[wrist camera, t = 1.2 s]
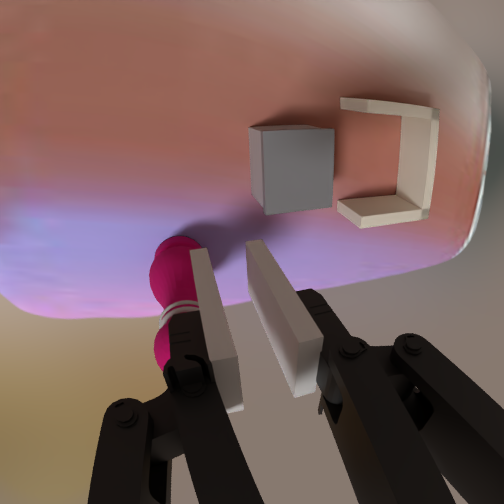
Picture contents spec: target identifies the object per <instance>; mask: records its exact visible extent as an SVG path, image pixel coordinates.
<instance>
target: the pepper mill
mask: <svg viewBox="0 0 504 504" xmlns="http://www.w3.org/2000/svg"><path fill="white" fill-rule="evenodd" d="M194 249H201V246H200V245H199V244H198V243H197V242H196V241H195V240H193V239H191V238H188V237H184V236H176V237H172V238H169V239H167V240H165V241H164V242H162V243H161V244H160V246H159V247H158V248H157V250H156V253H155V258H154V261H153V263H152V265H151V268H150V273H149V277H150V286H151V289H152V291H153V294H154V296H155V298H156V299H157V301H158V302H159V303H160V304H161V305H162V307H163V308H164V311H163V312H162V314H161V316H160V319H159V331H158V333H157V335H156V338H155V342H154V353H155V358H156V361H157V364H158V365H159V367H160V368H161V370H162V371H163V368H164V365H165V364H166V362H167V361H168V360H169V359H170V347H169V345H170V344H169V331H168V324H169V322H170V320H171V318H172V316H173V314H179V313H185V312H191V311H197V310H200V309H199V304H198V298H197V292H196V286H195V281H194V274H193V268H192V262H191V256H190V250H194Z"/></svg>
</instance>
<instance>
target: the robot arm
mask: <svg viewBox="0 0 504 504" xmlns="http://www.w3.org/2000/svg"><path fill="white" fill-rule="evenodd" d="M245 243H246V259H247V275H248V292H249V294H250V296H251V299H252V301H253V303H254V306H255V308H256V311H257V313H258V315H259V317H260V320H261V322H262V325H263V327H264V329H265V332H266V334H267V336H268V339H269V341H270V343H271V345H272V348H273V350H274V352H275V355H276V357H277V360H278V362H279V364H280V366H281V369H282V371H283V373H284V375H285V378H286V380H287V382H288V385H289V387H290V389H291V391H292V394H293V396H294V398H295V397H299V396H303V395H306V394H309V393H313V392H315V389H316V383H317V384H318V386H319V388H320V390H321V392H322V393H321V398H320V403H319V408H318V413H319V415H320V414H322V411H323V409H324V412H325V415H326V417H327V420H328V422H329V425H330V428H331V430H332V433H333V436H334V438H335V440H336V443H337V446H338V449H339V452H340V454H341V457H342V460H343V462H344V465H345V468H346V470H347V473H348V476H349V478H350V481H351V484H352V486H353V489H354V492H355V495H356V497H357V500H358V503H359V504H456V503H455V501H454V499H453V497H452V494H451V493H450V490H449V488H448V486H447V485H446V482H445V480H444V479H443V477H442V475H443V476H444V477H445V478H446V479H447V480H448V481H449V483H450V484H451V485H452V486H453V487H454V488H455V489H456V490H457V491H458V493H459V494H460V495H461V496H462V497H463V498H464V499H465V500H466V501H467V503H468V504H504V409H502V407H501V406H500V405H498V404H497V403H496V402H495V401H494V400H493V399H492V398H491V397H490V396H489V395H488V394H487V393H485V391H483V390H482V389H481V388H480V387H479V386H478V385H477V384H476V383H475V382H473V381H472V380H471V379H470V378H469V377H468V376H467V375H466V374H465V373H464V372H462V371H461V370H460V369H459V368H458V367H457V366H456V365H455V364H454V363H452V362H451V361H450V360H449V359H448V358H447V357H446V356H444V355H443V354H442V353H441V352H440V351H439V350H438V349H436V348H435V347H434V346H433V345H432V344H431V343H430V342H428V341H427V340H426V339H425V338H423V337H421V336H420V335H417V334H413V333H406V334H402V335H400V336H398V337H397V338H396V339H395V342H394V345H393V346H369V345H368V344H367V343H366V342H365V341H364V340H362V339H360V338H358V337H353V336H351V335H350V334H349V332H348V331H347V329H346V328H345V327H344V325H343V324H342V322H341V321H340V320H339V318H338V317H337V316H336V314H335V313H334V312H333V311H332V309H331V307H330V306H329V305H328V304H327V302H326V300H325V299H324V298H323V296H322V295H321V294H319V293H318V292H316V291H314V290H313V289H306V290H301V291H296V292H295V290H294V289H293V287H292V285H291V284H290V282H289V281H288V279H287V278H286V276H285V274H284V273H283V271H282V270H281V268H280V267H279V265H278V263H277V262H276V260H275V259H274V257H273V256H272V254H271V253H270V251H269V249H268V248H267V246H266V245H265V243H264V242H263V240H262V239H260V240H253V241H246V242H245ZM190 256H191V262H192V268H193V274H194V281H195V286H196V292H197V298H198V304H199V309H200V310H197V311H191V312H185V313H179V314H173V316H172V318H171V320H170V322H169V324H168V331H169V344H170V345H169V347H170V359H169V360H168V361H167V362H166V364H165V365H164V368H163V376H164V378H165V381H166V384H167V386H168V389H167V390H166V391H165V392H164V393H163V394H161V395H160V396H158V397H156V398H155V399H152V400H149V401H147V402H144V403H142V402H140V401H138V400H136V399H132V398H125V399H120V400H118V401H116V402H113V403H112V404H111V405H110V406H109V407H108V408H107V410H106V412H105V415H104V418H103V422H102V427H101V431H100V436H99V441H98V446H97V451H96V456H95V461H94V466H93V472H92V478H91V484H90V490H89V497H88V504H171V471H172V459H173V458H175V457H177V456H180V455H182V454H185V457H186V461H187V464H188V468H189V471H190V475H191V479H192V482H193V485H194V489H195V492H196V495H197V498H198V501H199V504H264V502H263V500H262V497H261V495H260V493H259V491H258V488H257V486H256V484H255V482H254V479H253V477H252V474H251V472H250V470H249V467H248V465H247V463H246V460H245V458H244V455H243V453H242V451H241V448H240V445H239V443H238V440H237V438H236V435H235V433H234V430H233V428H232V425H231V422H230V420H229V417H228V414H227V413H231V412H236V411H241V410H244V406H243V398H242V390H241V382H240V373H239V364H238V356H237V353H236V349H235V346H234V343H233V339H232V336H231V333H230V329H229V326H228V322H227V319H226V315H225V312H224V308H223V305H222V301H221V298H220V294H219V291H218V287H217V284H216V280H215V276H214V273H213V269H212V265H211V262H210V258H209V254H208V250H207V248H201V249H194V250H190ZM415 386H416V387H417V388H418V389H417V388H416V387H415Z"/></svg>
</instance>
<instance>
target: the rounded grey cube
mask: <svg viewBox="0 0 504 504" xmlns="http://www.w3.org/2000/svg"><path fill="white" fill-rule="evenodd" d="M248 129H249V149H250V170H251V191H252V195H253V196H254V198H255V199H256V200H257V201H258V202H259V204H260V205H261V206H262V207H263V213H264V214H265V215H272V214H280V213H288V212H296V211H304V210H312V209H321V208H329V207H332V197H333V174H334V129H332V128H319V127H315V126H310V125H277V126H258V127H248Z"/></svg>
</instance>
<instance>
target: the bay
mask: <svg viewBox="0 0 504 504" xmlns="http://www.w3.org/2000/svg"><path fill="white" fill-rule="evenodd" d="M340 109H344V110H351V111H358V112H365V113H376V114H388V115H399V116H402V118H401V140H400V155H399V168H398V178H397V188H396V195H388V196H376V197H365V198H355V199H345V200H338V202H337V211H338V212H339V213H341V214H342V215H343V216H344V217H346V218H347V219H348V220H350V221H351V222H352V223H354V224H355V225H356V226H358V227H359V228H360V229H361V228H368V227H375V226H382V225H388V224H395V223H402V222H409V221H416V220H423V219H428V215H429V209H430V203H431V196H432V189H433V182H434V174H435V165H436V155H437V144H438V130H439V110H440V109H436V108H431V107H425V106H419V105H412V104H405V103H397V102H389V101H380V100H370V99H358V98H344V97H340Z"/></svg>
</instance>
